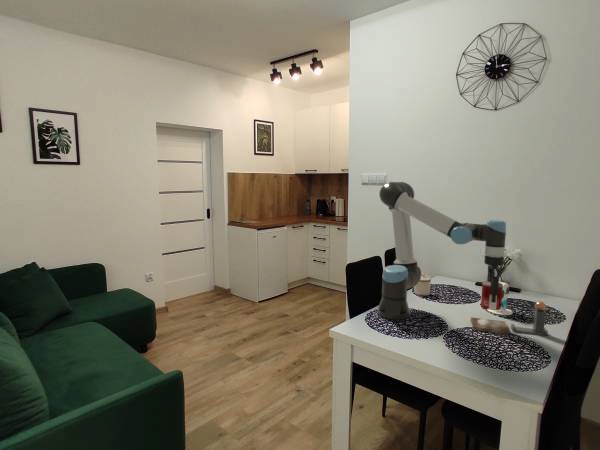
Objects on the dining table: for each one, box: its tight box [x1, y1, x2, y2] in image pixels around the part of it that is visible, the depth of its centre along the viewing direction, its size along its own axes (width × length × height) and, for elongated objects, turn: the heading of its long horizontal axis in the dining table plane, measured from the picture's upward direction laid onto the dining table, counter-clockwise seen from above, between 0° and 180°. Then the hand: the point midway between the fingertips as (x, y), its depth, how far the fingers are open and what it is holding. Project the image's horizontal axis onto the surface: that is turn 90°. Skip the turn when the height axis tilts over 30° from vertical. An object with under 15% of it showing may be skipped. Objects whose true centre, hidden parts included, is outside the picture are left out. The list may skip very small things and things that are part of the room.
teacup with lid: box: [412, 273, 432, 296], centre depth 215 cm, size 12×9×12 cm
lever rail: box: [510, 323, 549, 337], centre depth 160 cm, size 13×4×2 cm, turn 71°
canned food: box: [480, 280, 503, 310], centre depth 164 cm, size 8×8×11 cm
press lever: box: [532, 301, 547, 333], centre depth 158 cm, size 4×4×13 cm
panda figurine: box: [486, 279, 513, 316], centre depth 185 cm, size 12×11×15 cm
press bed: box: [470, 316, 511, 335], centre depth 165 cm, size 14×12×2 cm
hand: (491, 305), depth 164 cm, fingers closed on canned food, 8 cm apart
